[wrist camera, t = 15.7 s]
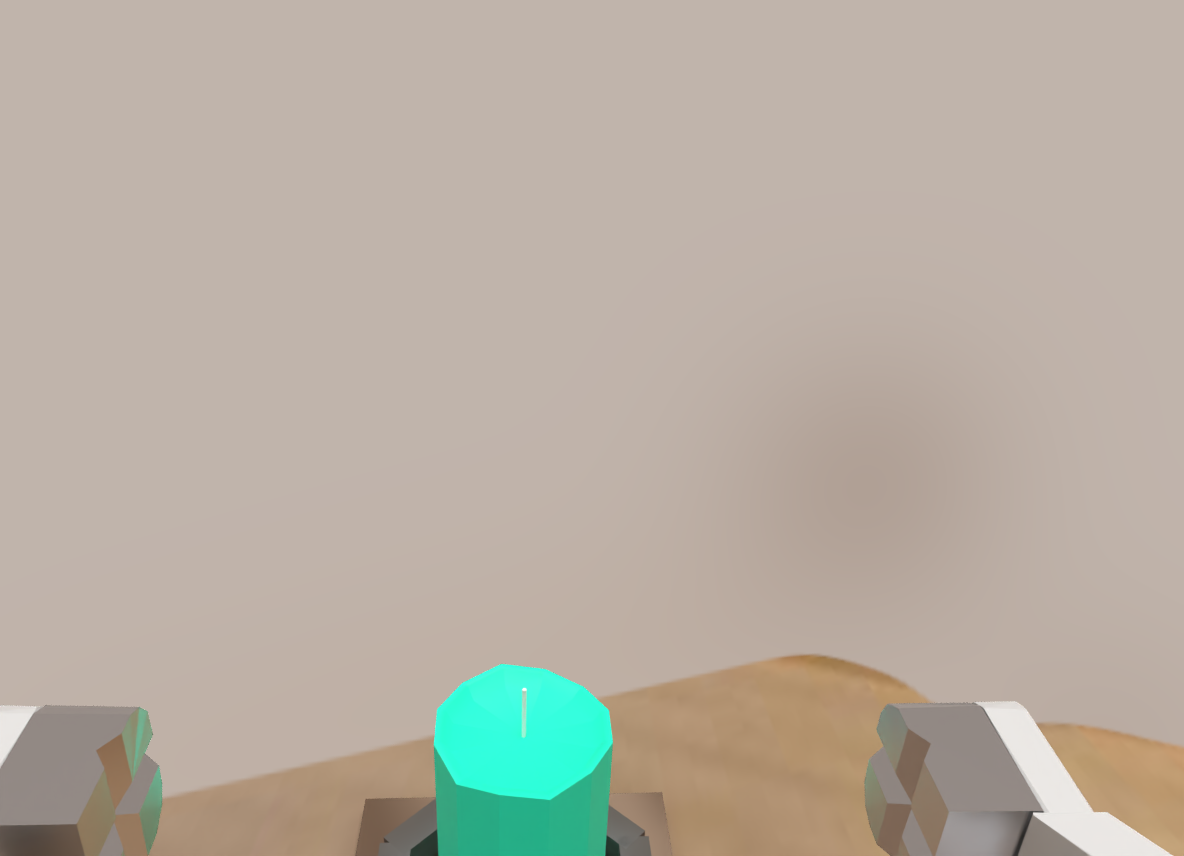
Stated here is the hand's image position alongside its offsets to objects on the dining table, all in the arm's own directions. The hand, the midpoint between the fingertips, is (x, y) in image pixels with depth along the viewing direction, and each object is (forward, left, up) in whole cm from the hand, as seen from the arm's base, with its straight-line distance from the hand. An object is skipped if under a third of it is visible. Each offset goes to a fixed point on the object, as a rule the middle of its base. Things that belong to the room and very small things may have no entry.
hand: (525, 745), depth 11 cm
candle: (0, +17, -26) cm, 31 cm away
